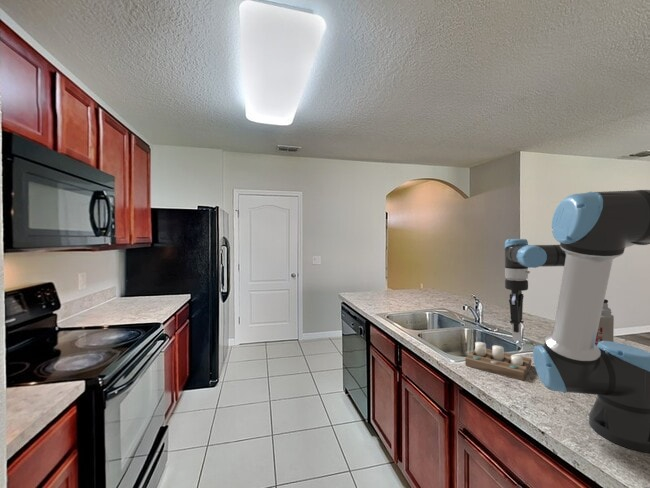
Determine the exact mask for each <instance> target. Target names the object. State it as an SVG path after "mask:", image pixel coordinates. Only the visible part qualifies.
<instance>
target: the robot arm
mask: <svg viewBox="0 0 650 488" xmlns="http://www.w3.org/2000/svg"><path fill="white" fill-rule="evenodd" d="M551 228H552V231H551V232H552V237H553V238H554V240H555V241H556V242H558V243H559V244H529V241H528V240H527V239H526V238H507V239H506V240H505V241H504V248H503V249H504V277H505V280H504V288H505V289H507V290H510V291H511V292H510V293H509V300H508V301H509V311H510V312H509V313H510V321H509V324H512V325H511V326H512V328H511V333H512V334H511V335H512V336H511V338H512V340H513V341H517V342H521V341H522V324H524V320H523V310H524V309H523V308H524V306H523V305H524V303H523V302H524V293H523V292H524V291H527V290H529V280H528V279H529V274H530V273H531V271H529V268H535V269H536V268H539V267H540V268H542V267H563V270H562V271H563V273H562V278H561V285H560V290H559V295H558V302H557V306H556V308H557V309H556V313H555V320H554V327H553V332H552V333H549V334H548V335H546V336H545V339H544V345H542V344H541V345H540V344H539V345H536V346H534V347H533V350H532V359H533V365H534V367H535V371H536V374H537V375H538V379H540V381H541V383H542V384H543V385H544V387H545V388H546V389H547V390H550V391H552V392H560V393H564V394H567V393H573V394H583V395H584V394H587V395H596V396H597V397H596V399H595V401H594V403H593V405H592V407H591V409H590V411H589V413H588V424H589V425H590V427H591V429H593V431H595V432H596V433H597V434H598V435H600V436H602V437H603V438H605V439H606V440H608V441H610V442H612V443H615V444H617V445H619V446H621V447H625V448H627V449H630V450H633V451H638V452H643V453H647V454H649V453H650V352H649V351H647V350H644V349H642V348H638V347H635V346H633V345H628V344H624V343H621V342H616V341H613V342H610V341H600V342H598V345H597V346H596V345H595V340H596V335H597V331H598V326H599V322H600V317H601V312H602V308H603V303H604V299H606V298H605V297H606V292H607V288H608V284H609V279H610V276H611V275H610V274H611V271H612V265H613V261H614V259H616V258H619V257H621V256H622V255H623V256H624V253H625V249H626V248H630V247H632V246H636V245H637V246H647V245H650V189H636V190H615V191H614V190H613V191H612V190H611V191H608V190H607V191H588V192H587V191H586V192H580V193H573V194H570V195H568V196H566V197H564V198H563V199H562V200H561V201H560V202H559V204H558V205H557V207H556V208H555V210H554V213H553V216H552V220H551Z"/></svg>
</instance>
